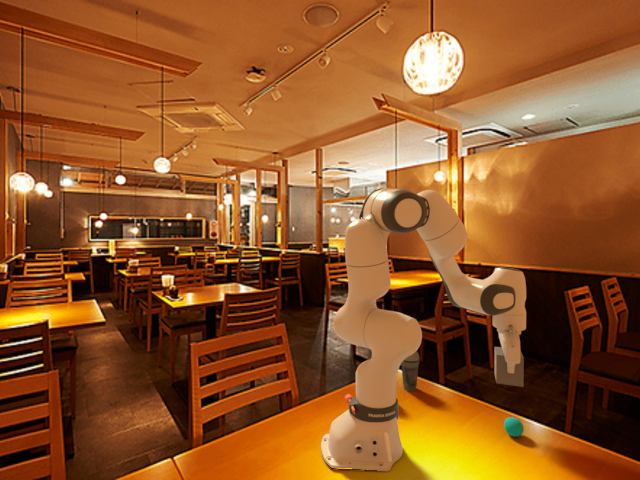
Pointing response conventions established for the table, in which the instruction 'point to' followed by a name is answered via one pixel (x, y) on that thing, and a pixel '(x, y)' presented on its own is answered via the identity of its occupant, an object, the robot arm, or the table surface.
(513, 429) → the ball
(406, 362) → the beverage cup
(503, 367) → the matte grey cube
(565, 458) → the table surface
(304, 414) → the table surface
